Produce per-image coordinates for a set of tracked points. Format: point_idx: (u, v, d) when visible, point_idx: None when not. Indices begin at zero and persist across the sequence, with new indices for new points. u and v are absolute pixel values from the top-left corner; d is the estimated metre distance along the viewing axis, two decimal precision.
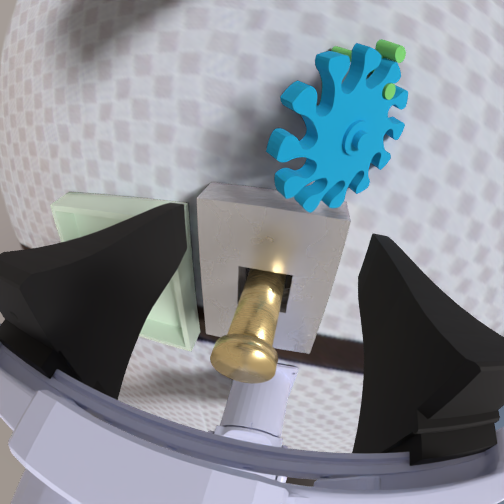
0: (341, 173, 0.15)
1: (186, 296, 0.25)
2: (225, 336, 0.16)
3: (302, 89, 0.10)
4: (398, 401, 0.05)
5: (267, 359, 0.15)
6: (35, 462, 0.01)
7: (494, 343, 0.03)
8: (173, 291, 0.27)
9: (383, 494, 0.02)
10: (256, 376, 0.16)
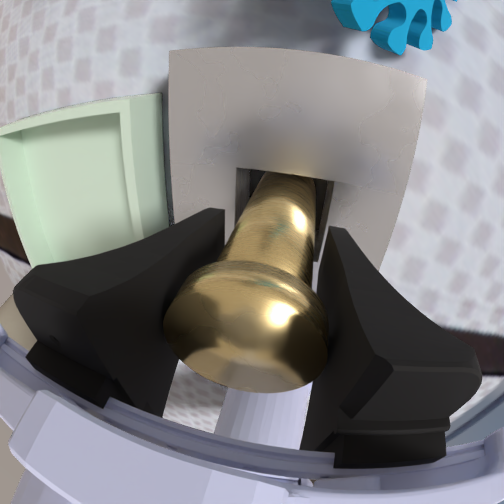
0: None
1: None
2: (198, 271, 0.06)
3: None
4: (329, 397, 0.05)
5: (312, 326, 0.05)
6: (35, 462, 0.01)
7: (432, 340, 0.04)
8: None
9: (383, 494, 0.02)
10: (275, 378, 0.07)
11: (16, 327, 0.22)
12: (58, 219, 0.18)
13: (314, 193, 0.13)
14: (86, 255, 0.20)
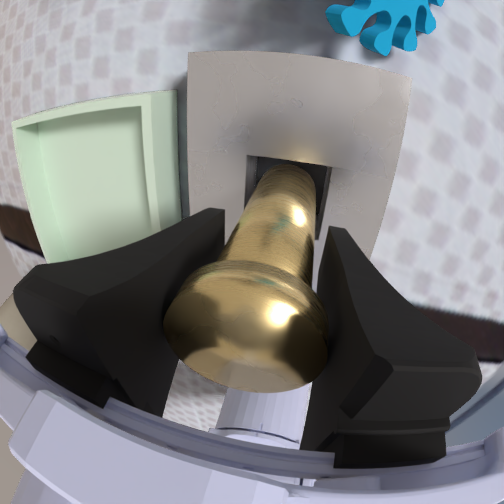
0: (387, 1, 0.07)
1: None
2: (199, 270, 0.06)
3: None
4: (329, 397, 0.05)
5: (312, 326, 0.05)
6: (35, 462, 0.01)
7: (432, 340, 0.04)
8: (152, 230, 0.19)
9: (383, 494, 0.02)
10: (275, 377, 0.07)
11: None
12: (72, 208, 0.20)
13: (314, 193, 0.13)
14: (99, 242, 0.21)
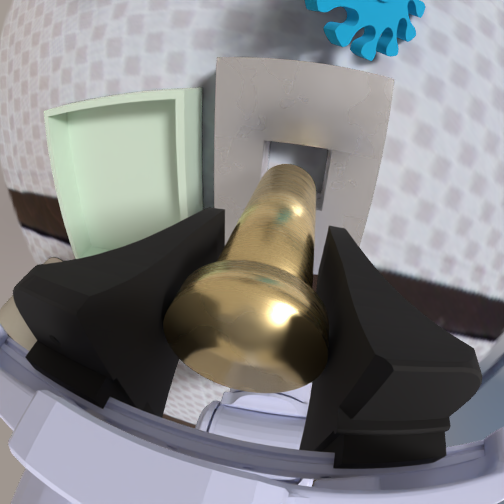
0: (372, 17, 0.09)
1: (192, 204, 0.20)
2: (199, 270, 0.06)
3: None
4: (329, 397, 0.05)
5: (312, 326, 0.05)
6: (35, 462, 0.01)
7: (432, 341, 0.04)
8: (175, 208, 0.22)
9: (383, 494, 0.02)
10: (275, 378, 0.07)
11: None
12: (98, 191, 0.23)
13: (314, 193, 0.13)
14: (123, 222, 0.24)
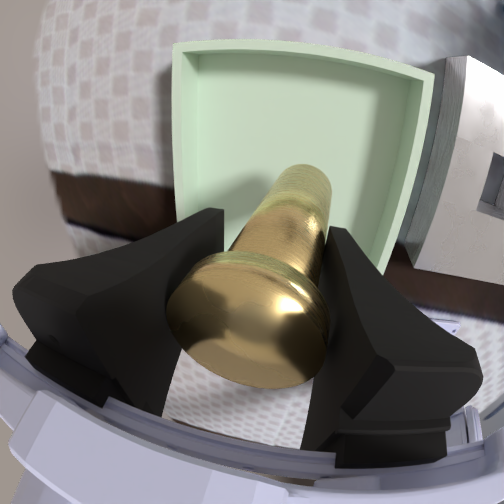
0: None
1: None
2: (204, 259, 0.07)
3: None
4: (330, 397, 0.05)
5: (311, 322, 0.05)
6: (35, 462, 0.01)
7: (433, 341, 0.04)
8: (361, 208, 0.18)
9: (383, 494, 0.02)
10: (273, 373, 0.07)
11: None
12: (239, 175, 0.18)
13: (330, 194, 0.13)
14: None
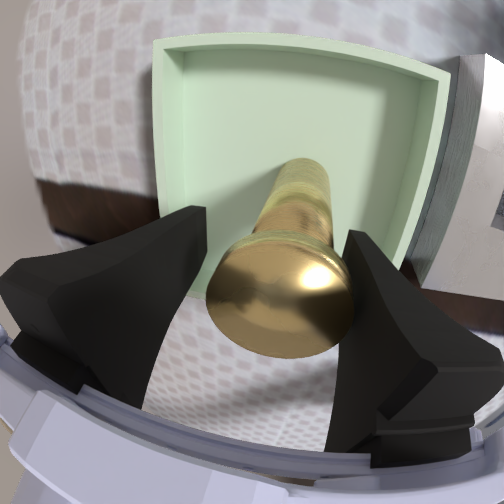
0: None
1: None
2: (242, 239, 0.07)
3: None
4: (362, 400, 0.05)
5: (344, 285, 0.06)
6: (35, 462, 0.01)
7: (463, 342, 0.04)
8: (365, 222, 0.16)
9: (383, 494, 0.02)
10: (305, 341, 0.08)
11: None
12: (230, 186, 0.16)
13: (329, 185, 0.14)
14: None
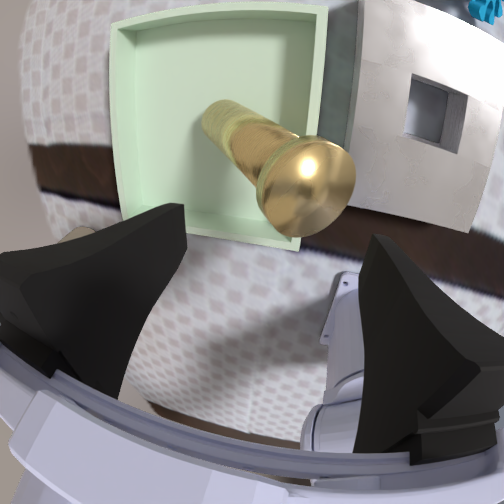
0: None
1: None
2: (281, 148, 0.09)
3: None
4: (398, 401, 0.05)
5: (352, 159, 0.10)
6: (35, 462, 0.01)
7: (494, 343, 0.04)
8: None
9: (383, 494, 0.02)
10: (329, 210, 0.11)
11: None
12: (168, 127, 0.19)
13: None
14: (199, 168, 0.20)
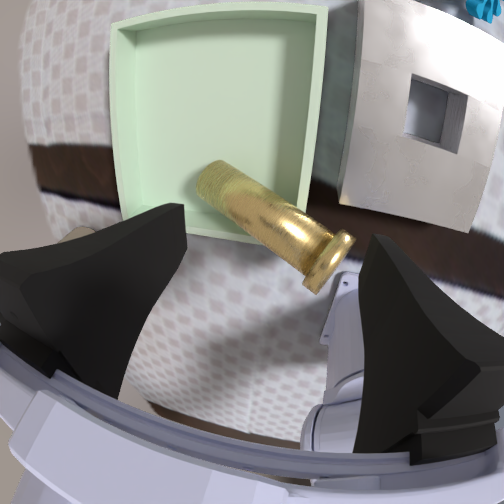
0: None
1: None
2: None
3: None
4: (398, 401, 0.05)
5: (316, 293, 0.15)
6: (35, 462, 0.01)
7: (494, 343, 0.04)
8: (281, 148, 0.18)
9: (383, 494, 0.02)
10: (341, 259, 0.15)
11: None
12: (168, 127, 0.19)
13: (208, 197, 0.18)
14: (199, 168, 0.20)
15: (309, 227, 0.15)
